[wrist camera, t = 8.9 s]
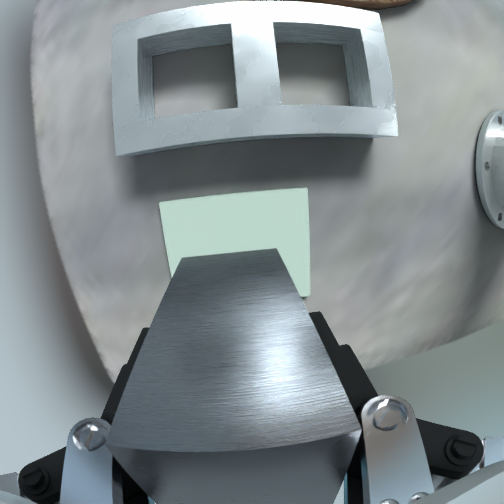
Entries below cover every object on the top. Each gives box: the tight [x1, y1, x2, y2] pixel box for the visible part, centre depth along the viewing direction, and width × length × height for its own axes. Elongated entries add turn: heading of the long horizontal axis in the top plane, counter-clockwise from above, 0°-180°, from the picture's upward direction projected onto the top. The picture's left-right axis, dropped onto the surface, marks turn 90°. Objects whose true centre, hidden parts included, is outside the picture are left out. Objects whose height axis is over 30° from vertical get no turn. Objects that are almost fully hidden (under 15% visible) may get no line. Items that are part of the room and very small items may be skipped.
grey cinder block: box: [112, 1, 398, 156], centre depth 15 cm, size 17×9×4 cm, turn 95°
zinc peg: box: [105, 248, 362, 504], centre depth 9 cm, size 4×4×10 cm
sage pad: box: [159, 187, 310, 297], centre depth 20 cm, size 10×8×1 cm
